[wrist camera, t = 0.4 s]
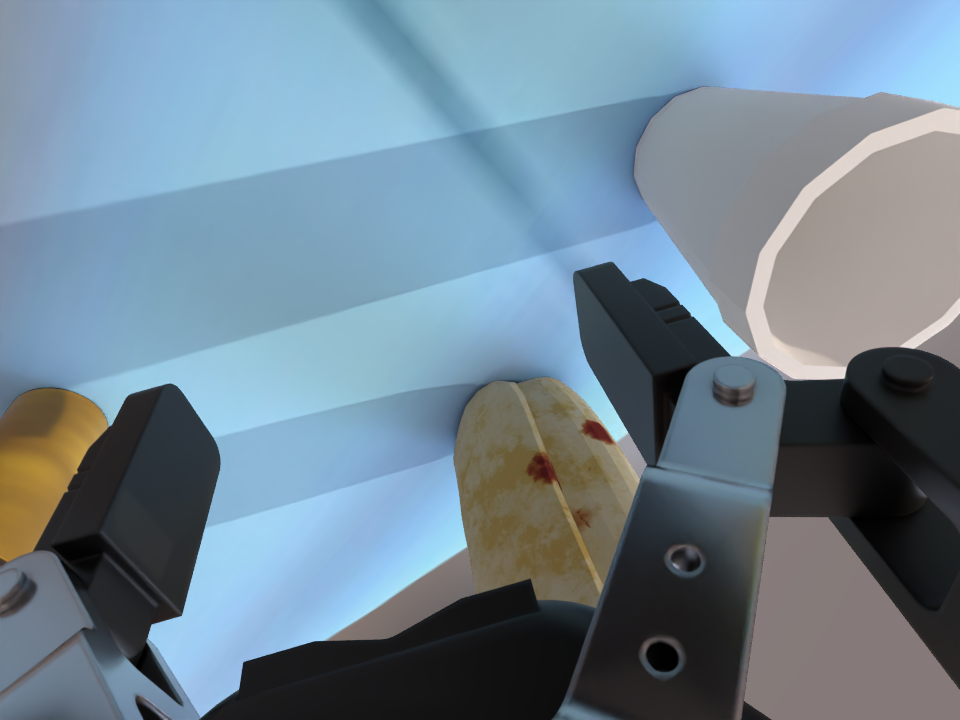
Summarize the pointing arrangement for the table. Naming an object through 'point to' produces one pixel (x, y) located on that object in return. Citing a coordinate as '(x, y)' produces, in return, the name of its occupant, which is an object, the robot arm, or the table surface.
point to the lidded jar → (40, 461)
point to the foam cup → (812, 217)
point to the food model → (540, 490)
